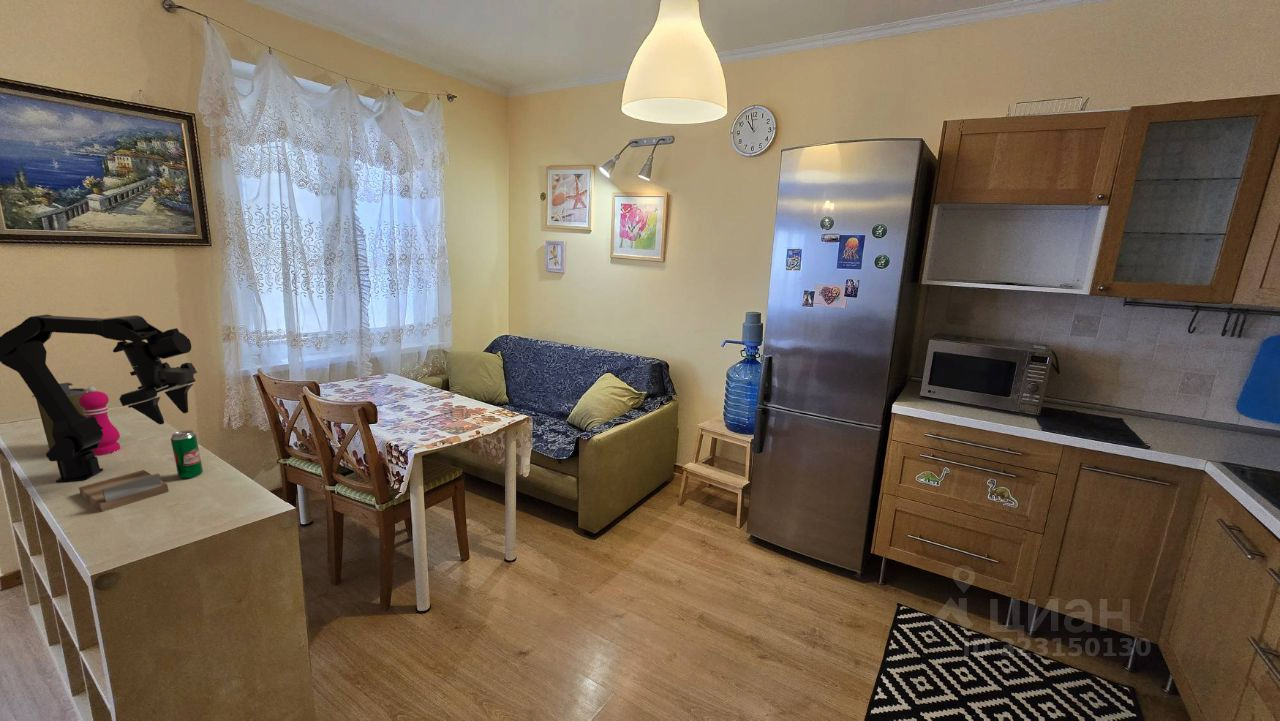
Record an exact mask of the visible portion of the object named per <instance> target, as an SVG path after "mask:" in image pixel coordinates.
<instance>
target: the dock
mask: <svg viewBox="0 0 1280 721" xmlns="http://www.w3.org/2000/svg"><path fill="white" fill-rule="evenodd" d="M78 490H79V494H80V496H82V497H83V498H84V499H85V498H86V499H85V500H86V501H87V502H89V503H90V502H91V505H93V506H94V505H95V506H96V508H97V509H98V510H99V509H100V510H101V511H100V510H99V511H100V512H102V511H104V512H106V511H105V510H107V511H109V510H108V509H110V510H113V509H116V507H117V508H119V506H120V507H123V506H126V505H129V504H132V503H135V502H138V501H142V500H146V499H149V498H153V497H155V496H159V495H161V494H165V493H168V492H169V491H170V490H169V487H168V483H167V482H164V481H163V480H161V475H160V473H158V472H157V473H154V474H151V473H150V472H148V471H147V470H144V469H141V470H137V471H134V472H131V473H126V474H123V475H119V476H115V477H111V478H108V479H104V480H101V481H97V482H93V483H90V484H86V485H81V486H79V487H78ZM158 494H159V495H158ZM122 505H123V506H122ZM95 506H94V507H95ZM112 508H113V509H112Z"/></svg>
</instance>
